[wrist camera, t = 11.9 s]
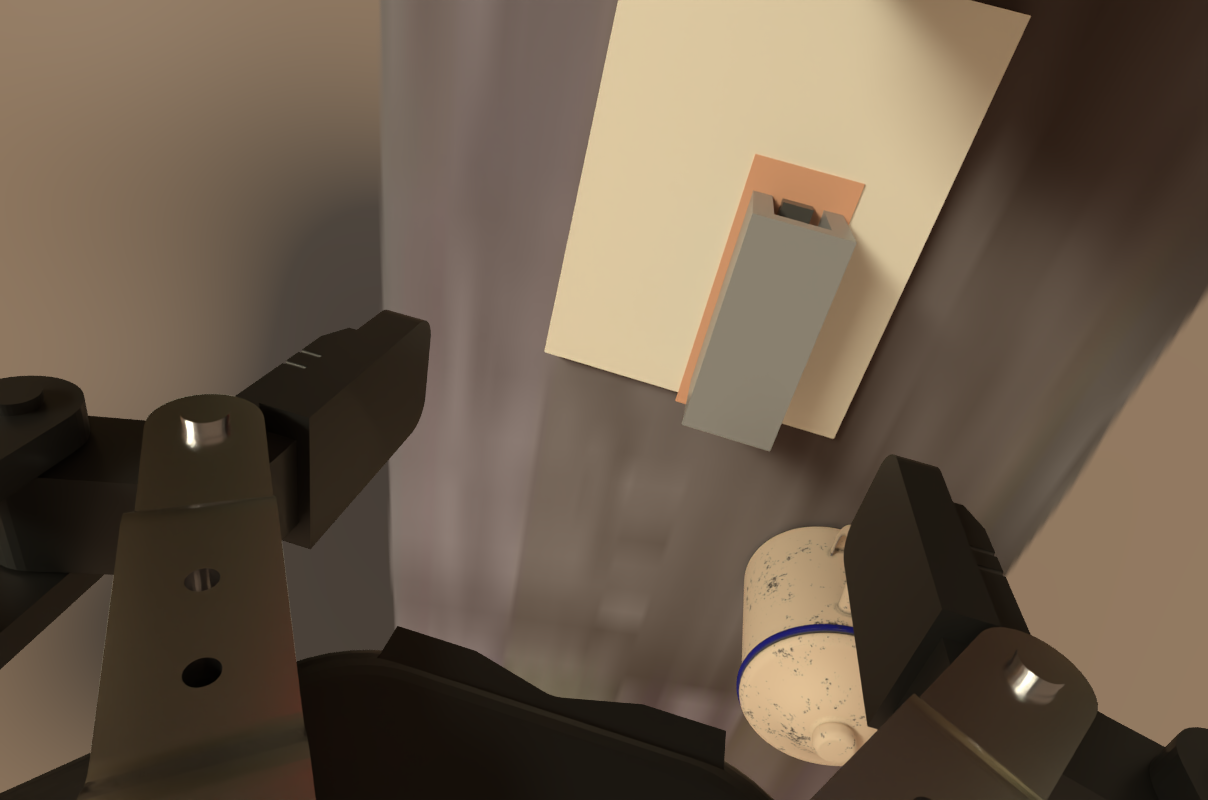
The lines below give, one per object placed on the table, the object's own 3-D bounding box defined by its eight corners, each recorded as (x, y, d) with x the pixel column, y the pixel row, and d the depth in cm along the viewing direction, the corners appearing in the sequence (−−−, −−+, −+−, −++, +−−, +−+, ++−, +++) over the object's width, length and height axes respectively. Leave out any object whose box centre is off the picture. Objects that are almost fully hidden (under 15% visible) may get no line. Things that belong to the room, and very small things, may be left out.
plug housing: (753, 190, 32) (752, 213, 28) (843, 215, 32) (856, 242, 27) (690, 379, 37) (681, 424, 32) (768, 402, 36) (769, 451, 32)
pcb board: (640, -82, 29) (636, -86, 28) (1022, 16, 28) (1032, 15, 27) (547, 352, 39) (542, 360, 38) (828, 437, 38) (830, 447, 37)
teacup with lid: (871, 652, 44) (905, 836, 34) (726, 618, 45) (717, 787, 35) (936, 497, 38) (1001, 661, 28) (770, 463, 39) (773, 609, 29)
